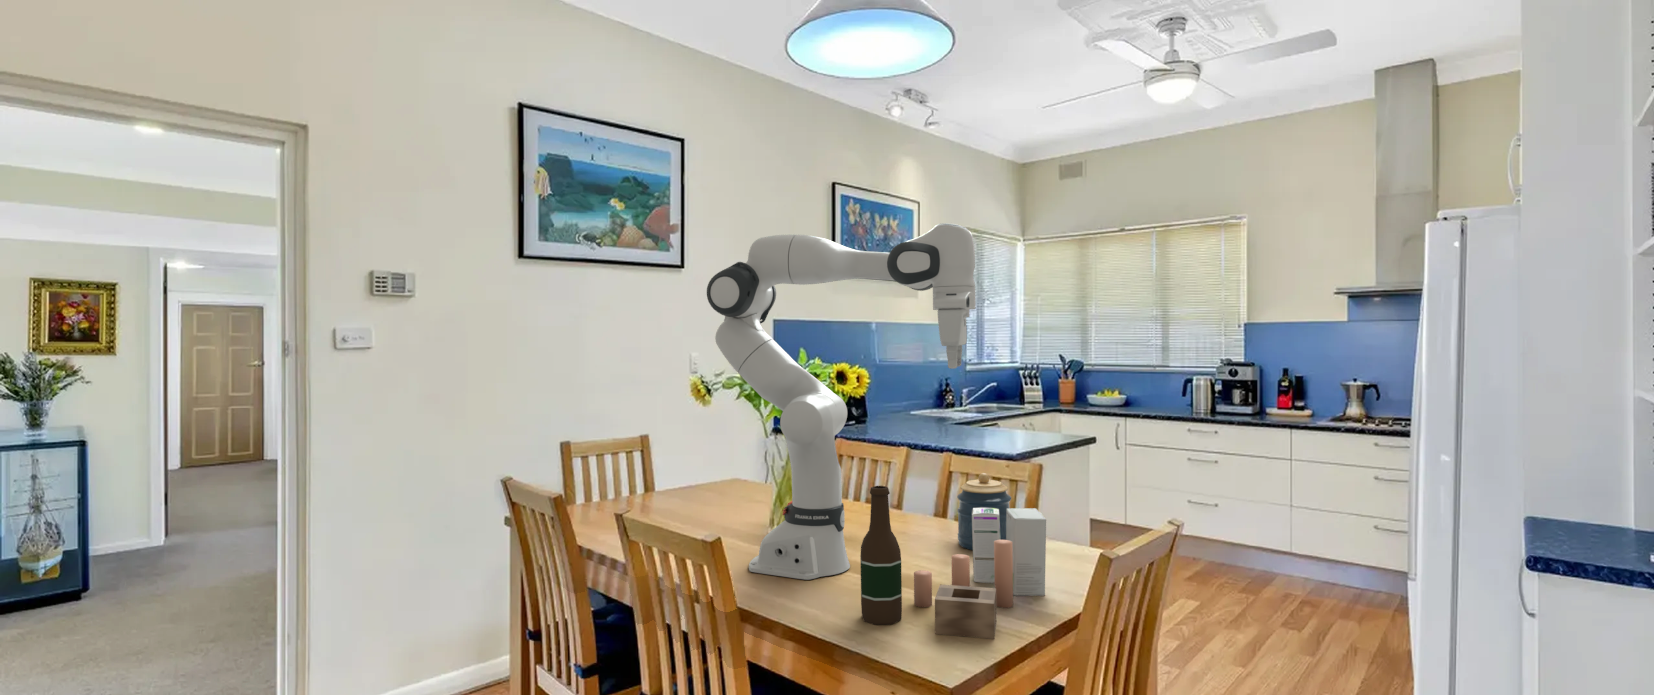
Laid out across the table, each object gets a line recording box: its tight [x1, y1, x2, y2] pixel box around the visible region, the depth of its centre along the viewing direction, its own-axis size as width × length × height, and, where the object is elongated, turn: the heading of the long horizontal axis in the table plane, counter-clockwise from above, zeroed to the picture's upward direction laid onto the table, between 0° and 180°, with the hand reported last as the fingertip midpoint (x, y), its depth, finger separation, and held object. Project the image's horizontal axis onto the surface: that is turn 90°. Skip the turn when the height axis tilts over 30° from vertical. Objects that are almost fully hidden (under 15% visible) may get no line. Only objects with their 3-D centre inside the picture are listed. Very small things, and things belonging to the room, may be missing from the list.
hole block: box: [934, 584, 997, 640], centre depth 134 cm, size 10×8×6 cm
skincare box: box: [1006, 507, 1047, 597], centre depth 153 cm, size 8×7×16 cm
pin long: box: [994, 540, 1014, 609], centre depth 145 cm, size 3×3×12 cm
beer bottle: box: [859, 485, 903, 626], centre depth 139 cm, size 8×8×24 cm
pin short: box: [913, 569, 933, 608], centre depth 146 cm, size 3×3×6 cm
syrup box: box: [972, 508, 1001, 584], centre depth 160 cm, size 6×6×14 cm
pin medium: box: [950, 553, 971, 587], centre depth 146 cm, size 3×3×9 cm
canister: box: [956, 472, 1012, 551], centre depth 186 cm, size 13×13×18 cm
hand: (954, 367), depth 160 cm, fingers open, 8 cm apart
